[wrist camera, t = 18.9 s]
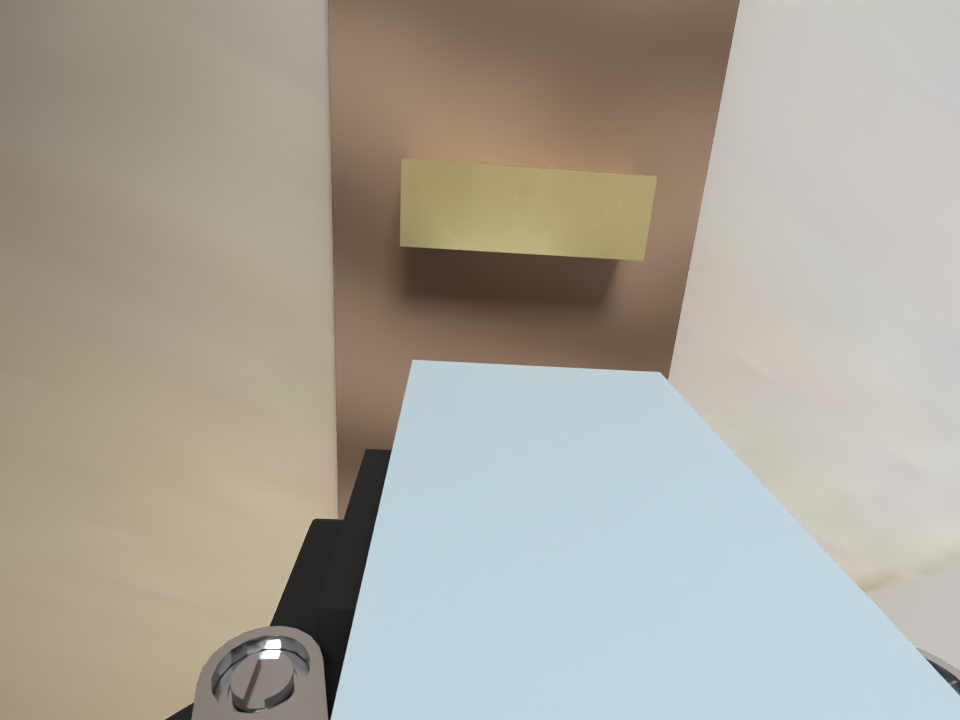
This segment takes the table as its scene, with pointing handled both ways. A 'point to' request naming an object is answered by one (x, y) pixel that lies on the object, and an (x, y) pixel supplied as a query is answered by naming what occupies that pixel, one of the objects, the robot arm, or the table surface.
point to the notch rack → (512, 187)
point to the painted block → (602, 569)
